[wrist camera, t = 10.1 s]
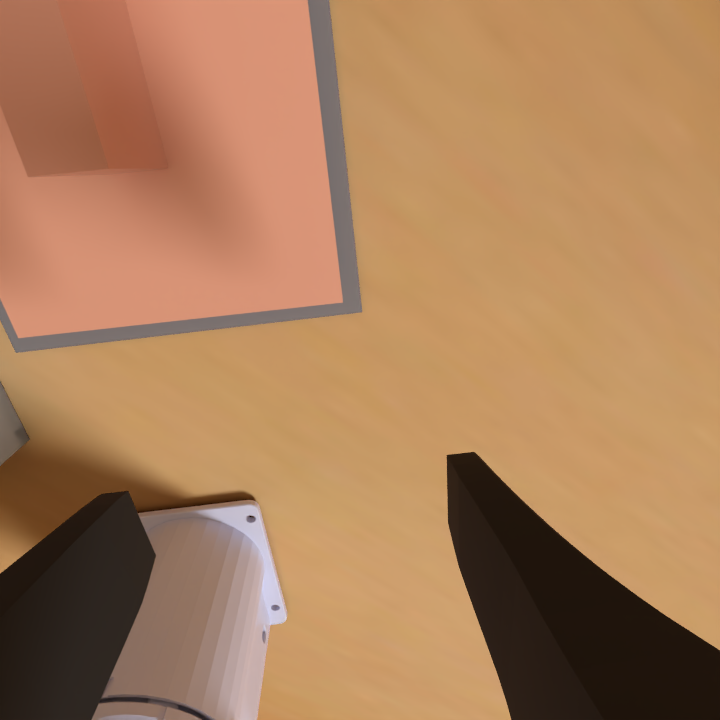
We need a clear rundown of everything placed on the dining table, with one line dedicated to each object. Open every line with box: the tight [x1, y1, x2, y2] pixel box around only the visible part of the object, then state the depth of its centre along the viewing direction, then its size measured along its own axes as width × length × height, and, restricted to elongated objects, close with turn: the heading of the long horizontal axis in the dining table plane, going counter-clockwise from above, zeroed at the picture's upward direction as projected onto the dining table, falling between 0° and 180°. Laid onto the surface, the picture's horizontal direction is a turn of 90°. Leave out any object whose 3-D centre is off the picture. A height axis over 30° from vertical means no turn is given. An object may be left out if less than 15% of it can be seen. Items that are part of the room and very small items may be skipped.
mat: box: [0, 0, 362, 353], centre depth 15 cm, size 19×15×1 cm
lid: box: [0, 0, 343, 338], centre depth 12 cm, size 17×13×6 cm
